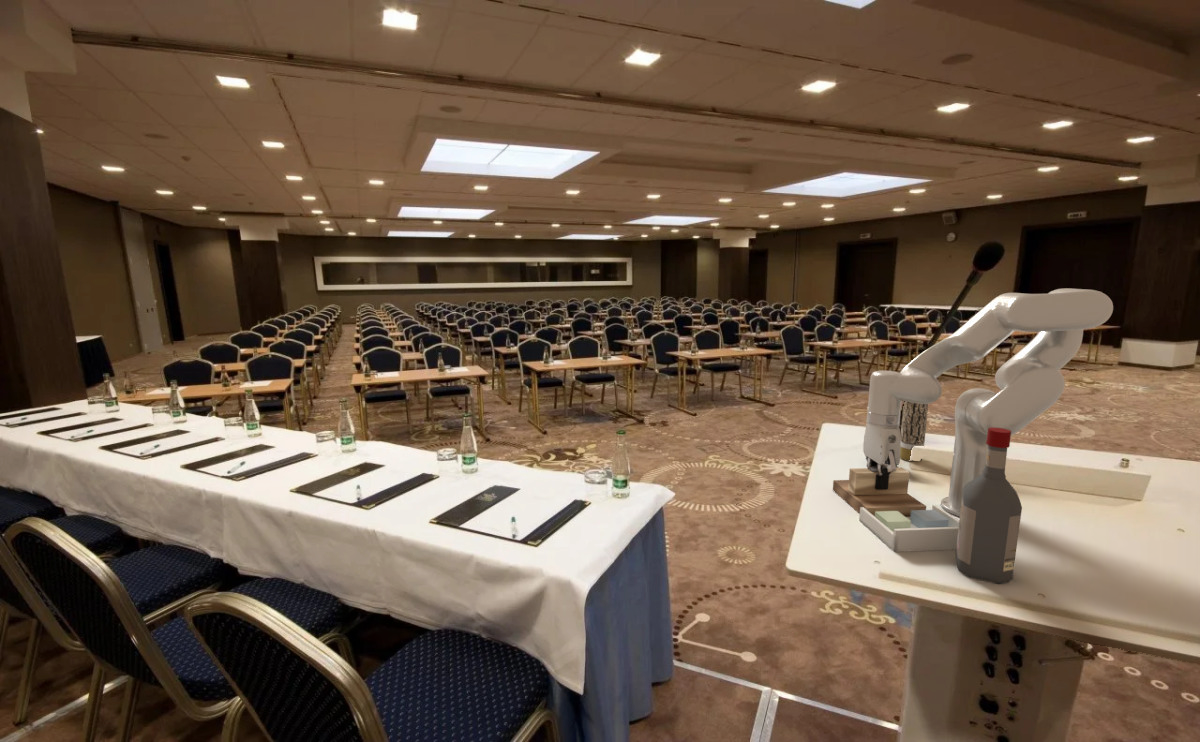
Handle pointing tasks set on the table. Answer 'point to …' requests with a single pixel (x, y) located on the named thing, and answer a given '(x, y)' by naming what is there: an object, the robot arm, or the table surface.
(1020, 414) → the robot arm
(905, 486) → the wooden block
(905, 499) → the wooden serving board
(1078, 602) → the table surface
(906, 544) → the tray
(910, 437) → the bark textured cylinder
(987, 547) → the liquor
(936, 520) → the tile slate
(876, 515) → the tile sage
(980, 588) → the table surface
